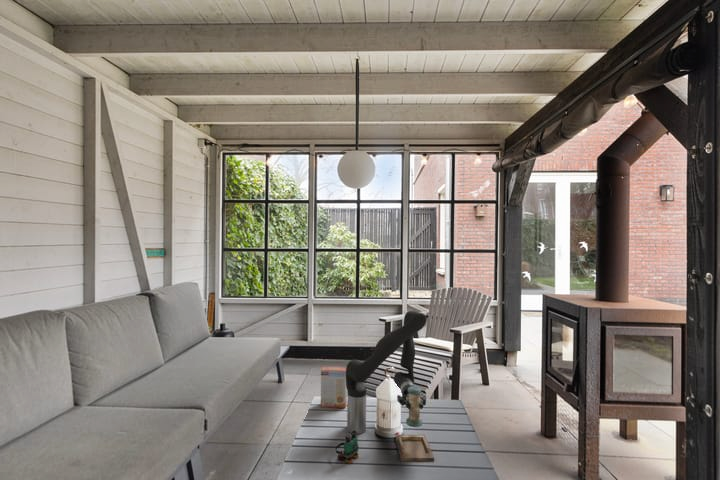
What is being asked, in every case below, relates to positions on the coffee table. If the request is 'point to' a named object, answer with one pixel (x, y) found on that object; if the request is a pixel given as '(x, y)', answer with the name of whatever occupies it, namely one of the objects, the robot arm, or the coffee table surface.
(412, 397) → the bobbin
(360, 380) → the robot arm
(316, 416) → the coffee table surface
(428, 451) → the brown wooden tray
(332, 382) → the cracker box
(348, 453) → the binoculars
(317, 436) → the coffee table surface
